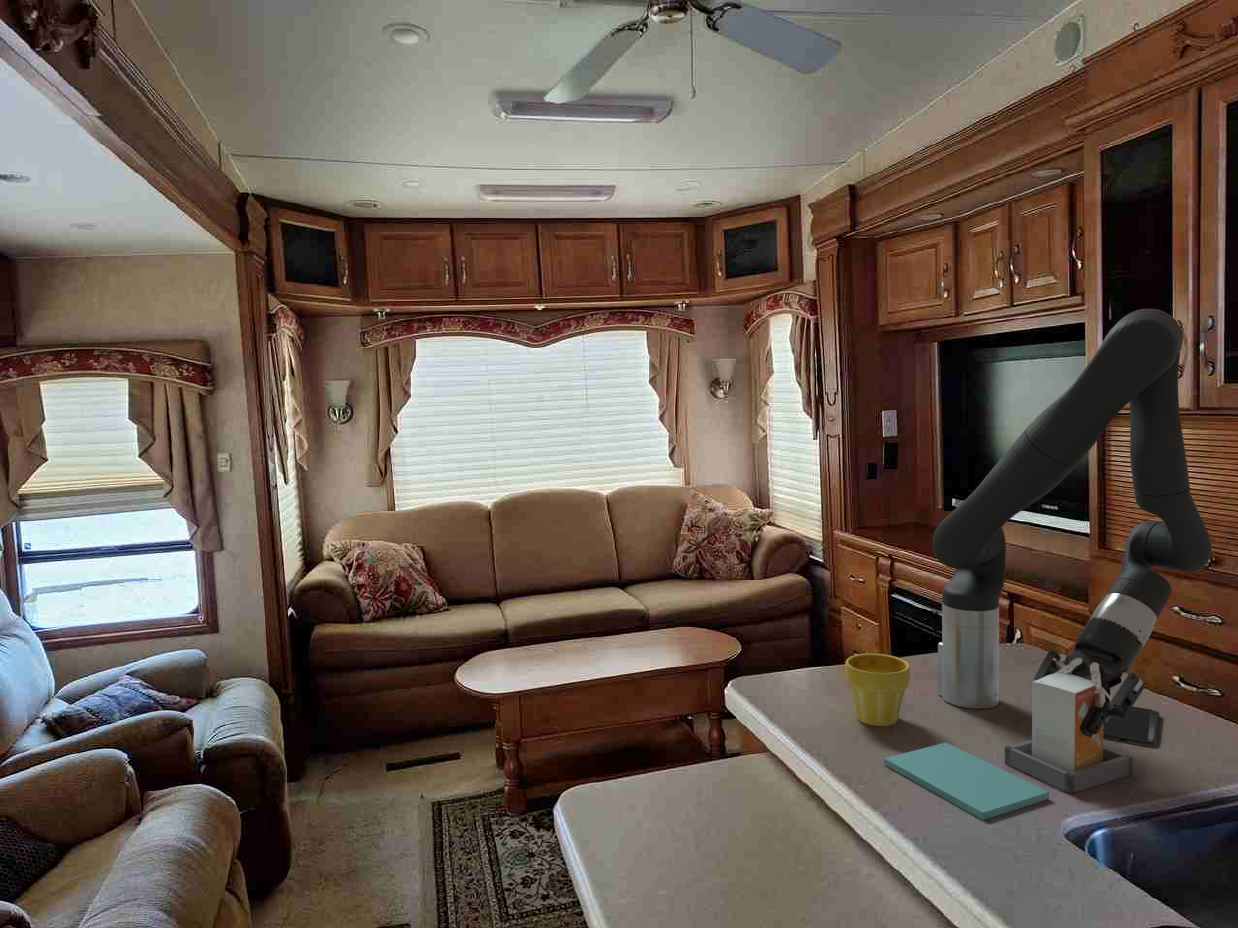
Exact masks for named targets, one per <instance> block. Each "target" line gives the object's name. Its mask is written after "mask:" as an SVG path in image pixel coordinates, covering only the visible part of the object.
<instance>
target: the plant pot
mask: <svg viewBox="0 0 1238 928" xmlns="http://www.w3.org/2000/svg"><path fill="white" fill-rule="evenodd" d="M844 663H845V667H844V668H845V670H844V671H845V672H844V673H845V681H846V683H847V684H848V685H849V686H850V687H849V688H850V691H851V695H852V700H853V705H854V710H855V716H856V718H857V720H858V721H859V722H861V723H863V724H865V725H869V726H872V727H873V726H874V727H889V726H893V725H895V724H896V723H897V722H898V720H899V716H900V712H901V707H902V703H903V699H904V695H905V691H906V689H907V688H908V687H909V686H910V679H911V678H910V677H911V675H910V672H911V671H910V670H911V668H910V664H909V663H908V662H907V661H906V660H904V659H902V658H901V657H897V656H894V655H889V654H883V653H860V654H859V653H858V654H854V655H852V656H849V657H848V658H847V659H845V662H844Z"/></svg>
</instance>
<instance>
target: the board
mask: <svg viewBox="0 0 1238 928" xmlns="http://www.w3.org/2000/svg"><path fill="white" fill-rule="evenodd" d="M883 762H884V763H883V764H884V766H886V767H887V768H889V769H891V770H893V771H894V772H896V773H898V774H899V775H901V776H903V777H905V778H907V779H909V780H910V781H912V782H914V783H916V784H917V785H919V786H921V787H922V788H924V789H926V790H928V791H929V792H932V793H934V794H936V795H937V796H939V797H941V798H942V799H945V800H946V801H948V802H949V803H951V804H953V805H955V806H957V807H958V808H959V809H962V810H964V811H966V812H968V813H969V814H971V815H973V816H974V817H976V818H978V819H979V820H982V821H984V820H988V819H991V818H995V817H997V816H1001V815H1004V814H1007V813H1011V812H1012V811H1016V810H1020V809H1023V808H1026V807H1028V806H1031V805H1035V804H1038V803H1041V801H1042V802H1044V800H1045V801H1048V800H1050V792H1049V791H1048V790H1045V789H1043V788H1041V787H1039V786H1037V785H1035V784H1033V783H1031V782H1029V781H1026V779H1025V780H1024V779H1022V778H1020V777H1018V776H1016V775H1014V774H1012V773H1010V772H1008V771H1006V770H1004V769H1002V768H1000V767H998V766H996V765H994V764H991V763H989V762H987V761H985V760H984V759H981V758H979V757H977V756H975V755H972V754H971V753H968V752H966V751H965V750H962V749H960V748H958V747H956V746H954V745H951V744H950V743H948V742H942V743H938V744H935V745H930V746H927V747H924V748H923V747H922V748H920V749H916V750H911V751H908V752H903V753H901V754H900V753H899V754H897V755H892V756H888V757H884V760H883ZM1047 799H1048V800H1047ZM1025 806H1026V807H1025Z"/></svg>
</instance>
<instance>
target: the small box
mask: <svg viewBox="0 0 1238 928" xmlns="http://www.w3.org/2000/svg"><path fill="white" fill-rule="evenodd" d="M1095 686H1096V685H1094V684H1092V681H1090V680H1087V679H1084V678H1081V677H1079V676H1075V675H1072V674H1067V675H1065V674H1061V673H1054V674H1051V675H1047V676H1045V677H1043V678H1041V679H1038V680H1036V681H1034V680H1033V681H1032V695H1031V696H1032V701H1031V703H1032V705H1031V708H1032V709H1031V711H1032V713H1031V714H1032V715H1031V727H1032V729H1031V733H1032V734H1031V740H1032V756H1033V757H1035V758H1037V759H1040V760H1042V761H1044V762H1046V763H1049V764H1051V765H1053V766H1055V767H1058V768H1060V769H1062V770H1064V771H1067V772H1072V771H1076V770H1079V769H1082V768H1086V767H1089V766H1092V765H1095V764H1099V763H1102V762H1103V746H1104V738H1103V725H1104V723H1103V725H1102V726H1101V728H1100V730H1099V732H1098V733H1097V734H1095V735H1094V734H1093V736H1092V737H1088V736H1086V735H1084V734H1083V733H1082V731H1081V730H1080V726H1081V723H1082V722H1083V720H1084V718H1085V717H1086V715H1087V713H1088V712H1089V710H1090V708H1091V707H1095V698H1094V689H1095Z"/></svg>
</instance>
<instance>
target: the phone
mask: <svg viewBox="0 0 1238 928" xmlns="http://www.w3.org/2000/svg"><path fill="white" fill-rule="evenodd" d="M1159 722H1160V712H1159V711H1157V710H1154V709H1151V708H1150V709H1149V708H1144V707H1138V706H1132V707H1131V709H1130V711H1129V712H1128V714H1127V715H1126V716H1125V717H1123V718H1120V717H1118V716H1117V715H1111V716H1110V717H1107V718H1106V720H1105V721H1104V725H1103V739H1104V738H1105V740H1110V741H1114V742H1115V741H1116V742H1119V743H1127V744H1131V745H1137V746H1143V747H1148V748H1151V747H1152V748H1153V747H1156V744H1157V743H1156V742H1157V736H1158V729H1159Z"/></svg>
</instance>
